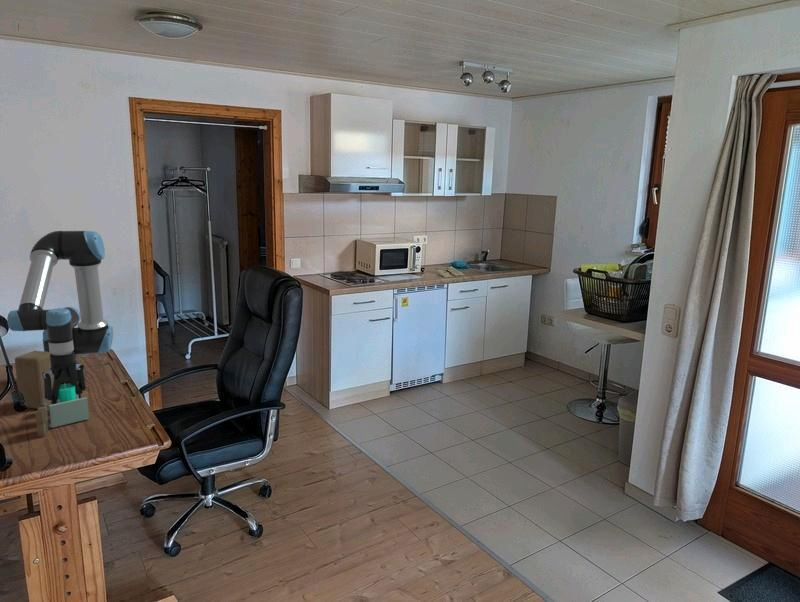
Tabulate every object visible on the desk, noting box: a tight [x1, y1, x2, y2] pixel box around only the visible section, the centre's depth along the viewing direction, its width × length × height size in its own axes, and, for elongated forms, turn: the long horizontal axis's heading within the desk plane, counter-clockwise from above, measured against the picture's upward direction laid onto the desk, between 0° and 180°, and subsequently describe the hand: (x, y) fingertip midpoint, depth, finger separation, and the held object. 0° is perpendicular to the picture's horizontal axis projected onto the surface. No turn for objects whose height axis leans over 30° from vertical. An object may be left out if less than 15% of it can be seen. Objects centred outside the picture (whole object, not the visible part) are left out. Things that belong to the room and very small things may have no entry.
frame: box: [34, 403, 51, 438], centre depth 205 cm, size 25×2×10 cm, turn 18°
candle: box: [57, 383, 76, 403], centre depth 207 cm, size 6×6×12 cm
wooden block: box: [14, 350, 54, 410], centre depth 219 cm, size 10×10×20 cm
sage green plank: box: [48, 396, 90, 429], centre depth 204 cm, size 12×1×8 cm, turn 134°
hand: (67, 413), depth 209 cm, fingers closed on candle, 6 cm apart
